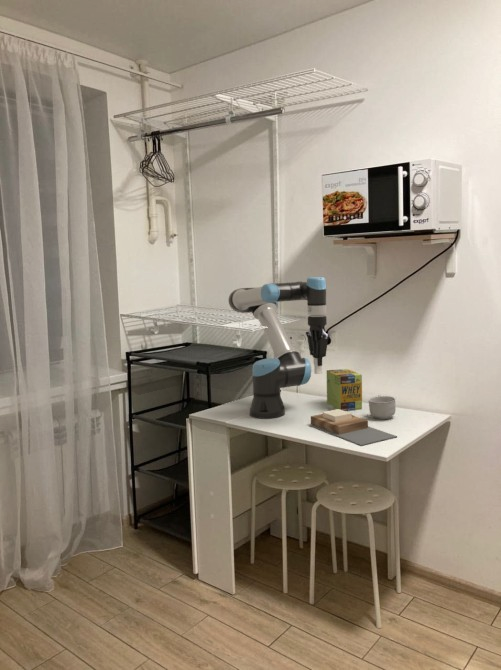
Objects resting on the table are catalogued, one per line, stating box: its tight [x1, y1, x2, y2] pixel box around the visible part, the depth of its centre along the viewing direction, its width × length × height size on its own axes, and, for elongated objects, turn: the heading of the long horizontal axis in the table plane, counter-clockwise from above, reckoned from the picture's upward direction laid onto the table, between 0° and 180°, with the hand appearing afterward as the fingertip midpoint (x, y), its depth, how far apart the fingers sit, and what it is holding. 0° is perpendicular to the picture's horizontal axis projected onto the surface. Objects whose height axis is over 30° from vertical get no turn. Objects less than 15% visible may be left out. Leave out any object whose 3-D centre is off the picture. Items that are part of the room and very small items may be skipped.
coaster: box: [322, 408, 353, 422], centre depth 227 cm, size 8×8×2 cm
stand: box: [310, 413, 369, 434], centre depth 226 cm, size 18×14×3 cm
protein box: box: [326, 368, 363, 412], centre depth 256 cm, size 10×15×16 cm
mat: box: [310, 424, 398, 447], centre depth 220 cm, size 30×17×1 cm, turn 30°
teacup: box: [367, 394, 397, 420], centre depth 239 cm, size 14×11×8 cm
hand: (318, 373), depth 235 cm, fingers closed
